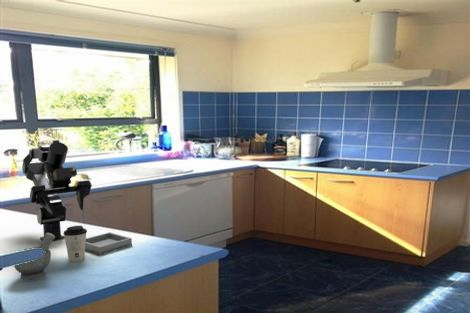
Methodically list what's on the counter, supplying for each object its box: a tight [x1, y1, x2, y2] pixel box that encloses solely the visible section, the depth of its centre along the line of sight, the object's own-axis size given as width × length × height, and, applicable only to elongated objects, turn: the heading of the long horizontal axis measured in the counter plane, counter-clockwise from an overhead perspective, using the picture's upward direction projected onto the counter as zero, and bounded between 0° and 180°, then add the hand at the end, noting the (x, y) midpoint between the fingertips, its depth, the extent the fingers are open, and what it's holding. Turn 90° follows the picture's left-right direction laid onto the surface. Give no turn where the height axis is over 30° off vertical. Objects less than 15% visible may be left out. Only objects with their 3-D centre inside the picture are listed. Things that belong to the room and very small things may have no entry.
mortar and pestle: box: [13, 233, 55, 282], centre depth 123 cm, size 11×9×12 cm
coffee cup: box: [63, 225, 88, 263], centre depth 137 cm, size 7×7×10 cm
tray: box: [85, 231, 133, 256], centre depth 150 cm, size 13×13×2 cm
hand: (67, 211), depth 143 cm, fingers open, 9 cm apart
